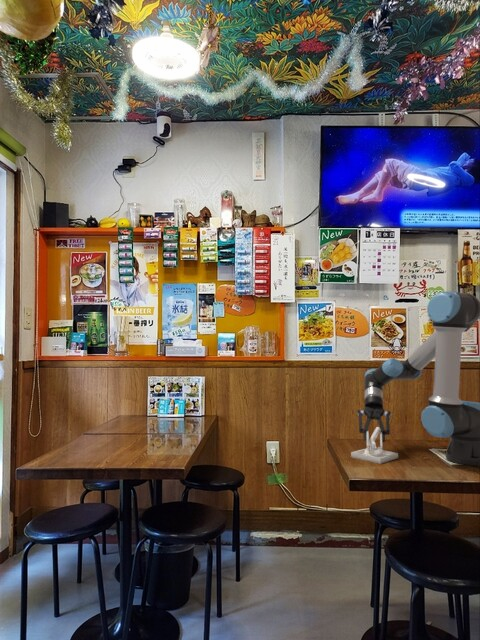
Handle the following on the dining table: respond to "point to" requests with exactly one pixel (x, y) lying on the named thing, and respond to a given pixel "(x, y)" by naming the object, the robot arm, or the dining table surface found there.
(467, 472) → the dining table surface
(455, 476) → the dining table surface
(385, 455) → the tray
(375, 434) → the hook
